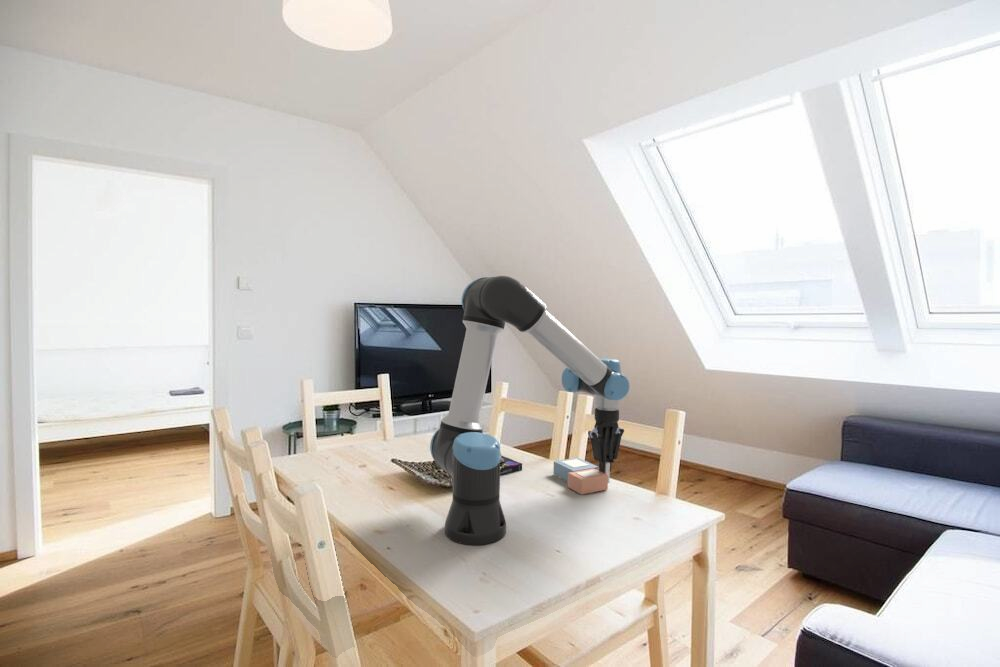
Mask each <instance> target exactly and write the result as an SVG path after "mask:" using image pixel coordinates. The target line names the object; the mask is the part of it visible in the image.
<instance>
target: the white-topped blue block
mask: <svg viewBox="0 0 1000 667" xmlns="http://www.w3.org/2000/svg"><path fill="white" fill-rule="evenodd" d="M593 468H594V469H596V470H598V471H599V465H598V466H597V465H596V464H593V463H591V462H589V461H587V460H584V459H582V458H580V457H573V458H566V459H560V460H555V461H553V473H552V474H553V476H555V477H557V478H559V479H561V480H563V481H565V482H567V483H568V473H569V472H575V471H581V470H587V469H593Z"/></svg>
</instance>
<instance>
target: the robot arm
mask: <svg viewBox="0 0 1000 667" xmlns="http://www.w3.org/2000/svg"><path fill="white" fill-rule="evenodd" d="M461 305H462V306H461V307H462V309H463V311H464V313H463V317H462V323H463V324H464V326H465V329H466V330H465V335H464V338H463V343H462V344H463V345H462V348H461V354H460V358H459V362H458V368H457V372H456V376H455V381H454V384H453V385H454V387H453V390H452V395H451V400H450V404H449V408H448V409H449V410H448V413H447V415H446V416H444V417H443V418H441V420H440V425H439V428H438V429H437V430H436V431H435V432H434V433H433V435H432V437H431V439H430V444H429V449H430V454H431V458H432V459H433V461H434V462H435V464H436V465H437V466H438V467H439V468H440V469H441V470H443V471H445V472H446V473H447V475H449V476H451V478H452V501H451V504H450V507H449V510H448V511H447V512H448V513H447V515H446V519H445V523H444V534H445V536H446V537H447V538H449V540H451V541H453V542H456V543H459V544H463V545H471V546H481V545H488V544H491V543H495V542H498V541H499V540H501V539H502V538H503V537H505V535H506V534H507V521H506V518H505V515H504V511H503V507H502V505H501V501H500V497H501V496H500V494H501V492H500V491H501V487H500V486H501V476H500V460H501V456H502V453H501V445H500V442H499V440H498V439H497V438H496V437H494V436H492V435H490V434H489V433H483V430H484V427H483V425H482V423H481V422H480V417H481V414H482V413H481V412H482V407H483V403H484V398H485V394H486V389H487V384H488V380H489V376H490V370H491V367H492V366H491V365H492V361H493V357H494V351H495V346H496V342H497V337H498V335H500V334H501V333H502V332H503V331H504V330H505V326H506V323H508V324H510V325H511V326H513V327H514V328H515V329H517V330H518V331H519V332H521V333H527V334H528V335H529V336H530V337H532V338H533V339H534V340H535V341H536V342H538V343H539V344H540V345H541V346H542V347H543V348H545V349H546V350H547V351H548V352H549V353H551V354H552V355H553V356H554V357H556V358H557V360H558V361H560V362H561V363H562V364H563V365H564V366H566V368H564V369H563V371H562V373H561V386H562V387H563V389H564V390H565V391H566V392H568V393H569V392H571V393H573V392H574V393H578V392H580V393H585V394H588V395H593V396H594V400H595V401H594V406H595V408H594V421H595V424H594V428H593V429H592V430H588V432H587V435H588V436H589V439H590V443H591V450H592V456H593V460H595V461H596V462H598V463H599V464H598V467H599V471H600V472H603V473H605V474H607V475H608V484H610V474H611V472H612V463H615V460H617V459H618V454H619V450H620V444H621V441H622V437H623V435H624V433H625V430H624V428H621V427H620V426H619V420H620V410H619V408H620V401H621V400H623V399H625V397H626V396H627V395H628V393H629V391H630V382H629V379H628V376H626V375H624V374H622V372H621V362H620V360H618V359H616V358H615V359H614V358H599V357H598V356H597V355H596V354H595V353H593V352H592V351H591V349H589V348H588V347H587V346H586V345H585V344H583V342H582V341H580V340H579V339H578V338H577V336H575V335H574V334H573V333H572V332H571V331H570V330H568V328H567V327H565V326H564V325H563V324H562V323H561V322H560V321H559V320H558V319H556V318H555V316H554V315H552V314H551V313H550V312H548V310H547V305H546V303H545V302H543V300H541V299H540V297H539V296H538V295H536V294H535V293H534V292H533V291H532V290H530V289H529V288H528V287H527V286H526V285H524V284H523V283H522V282H520V281H519V280H517V279H515V278H513V277H511V276H507V275H497V276H490V277H487V276H486V277H485V276H484V277H480V278H477V279H475V280H473V281H471V282H470V283H469V284H467V285H466V287H465V288H464V290H463V292H462V296H461Z"/></svg>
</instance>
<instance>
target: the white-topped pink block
mask: <svg viewBox="0 0 1000 667" xmlns="http://www.w3.org/2000/svg"><path fill="white" fill-rule="evenodd" d="M608 484H609V483H608V475H607V474H605V473H603V472H600V471H598V470H596V469H594V468H593V469H587V470H581V471H575V472H569V473H568V482H567V488H569V489H571V490H573V491H574V492H577V493H578V494H580V495H585V494H587V495H588V494H591V493H597V492H601V491H606V490H608V489H609V488H608V487H609V486H608Z"/></svg>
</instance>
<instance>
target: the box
mask: <svg viewBox="0 0 1000 667" xmlns="http://www.w3.org/2000/svg"><path fill="white" fill-rule="evenodd" d="M500 461H504V462H506V466H505V467H504V468H502V469H501V470H500V477H502V476H506V475H510V474H513V473H518V472H522V471H523V463H521V462H519V461H516V460H513V459H511V458H509V457H506V456H504V455H501V460H500Z"/></svg>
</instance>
